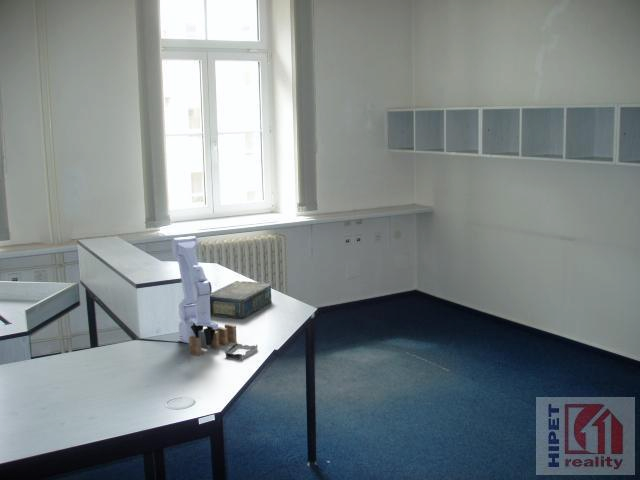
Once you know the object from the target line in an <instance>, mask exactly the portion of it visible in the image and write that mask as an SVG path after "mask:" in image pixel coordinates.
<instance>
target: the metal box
mask: <svg viewBox="0 0 640 480" xmlns="http://www.w3.org/2000/svg"><path fill="white" fill-rule="evenodd" d="M209 295H210V294H209ZM271 302H272V284H271V283H270V282H269V283H268V282H257V281H254V282H253V281H239V280H235V281H233V282H231V283H229V284H227V285H225V286H223V287H220V288H219V289H217V290H215V291H212V293H211V295H210V316H212V315H213V317H218V316H219V317H220V318H221V317H222V318H227V317H228V318H230V319H240V320H241V319H245V318H247V317H248V316H250V315H252V314H254V313H255V312H257V311H259V310H261V309H262V308H264V307H265V306H267V305H268V304H270V303H271Z"/></svg>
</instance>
